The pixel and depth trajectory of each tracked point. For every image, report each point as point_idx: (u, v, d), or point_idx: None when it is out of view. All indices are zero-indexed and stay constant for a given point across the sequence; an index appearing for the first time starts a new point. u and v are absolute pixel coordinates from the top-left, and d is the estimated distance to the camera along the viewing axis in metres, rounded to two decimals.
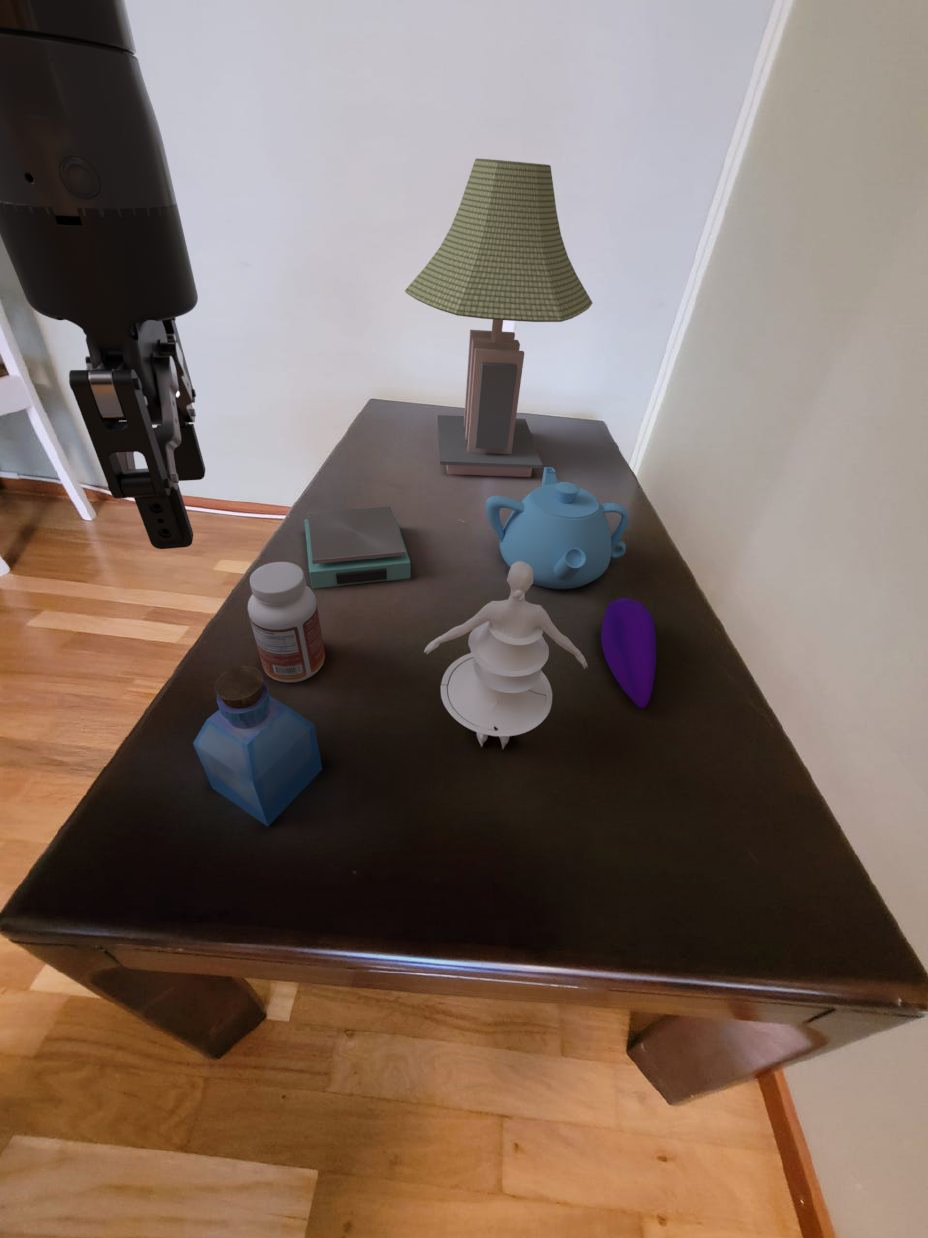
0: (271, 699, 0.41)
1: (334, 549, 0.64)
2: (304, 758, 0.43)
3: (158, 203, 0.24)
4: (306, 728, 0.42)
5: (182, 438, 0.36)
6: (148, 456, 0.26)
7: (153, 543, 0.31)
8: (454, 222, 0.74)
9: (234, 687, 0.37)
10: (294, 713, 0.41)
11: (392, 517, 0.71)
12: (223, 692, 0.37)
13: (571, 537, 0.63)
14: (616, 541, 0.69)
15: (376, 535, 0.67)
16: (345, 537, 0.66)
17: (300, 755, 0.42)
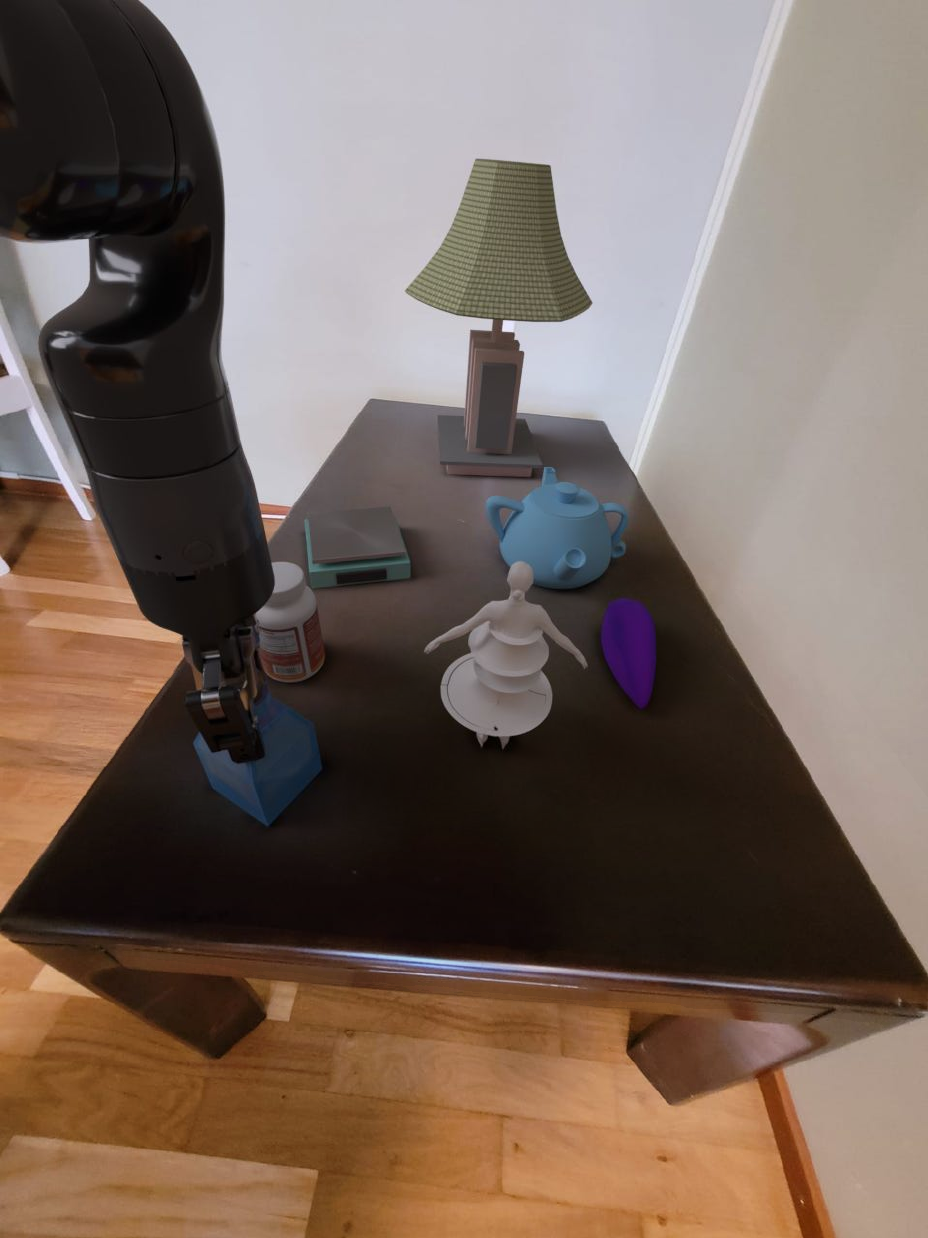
0: (271, 699, 0.41)
1: (334, 549, 0.64)
2: (304, 758, 0.43)
3: (253, 542, 0.29)
4: (306, 728, 0.42)
5: None
6: (243, 732, 0.32)
7: (233, 760, 0.37)
8: (454, 222, 0.74)
9: None
10: (294, 713, 0.41)
11: (392, 517, 0.71)
12: None
13: (571, 537, 0.63)
14: (616, 541, 0.69)
15: (376, 535, 0.67)
16: (345, 537, 0.66)
17: (300, 755, 0.42)
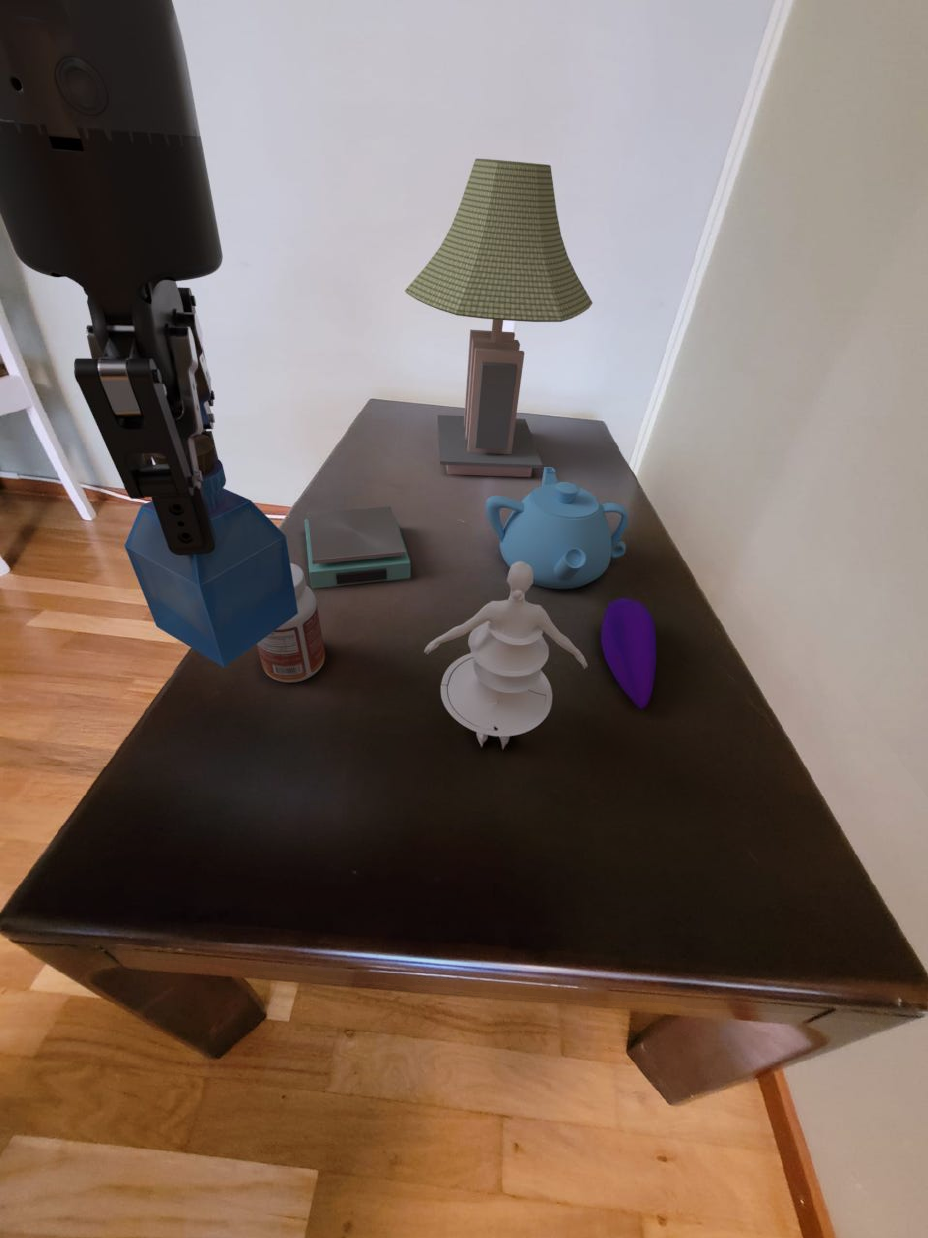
0: (229, 492, 0.31)
1: (334, 549, 0.64)
2: (273, 583, 0.33)
3: (179, 130, 0.19)
4: (275, 537, 0.32)
5: None
6: (170, 457, 0.22)
7: (171, 548, 0.28)
8: (454, 222, 0.74)
9: None
10: (259, 511, 0.31)
11: (392, 517, 0.71)
12: None
13: (571, 537, 0.63)
14: (616, 541, 0.69)
15: (376, 535, 0.67)
16: (345, 537, 0.66)
17: (267, 575, 0.33)
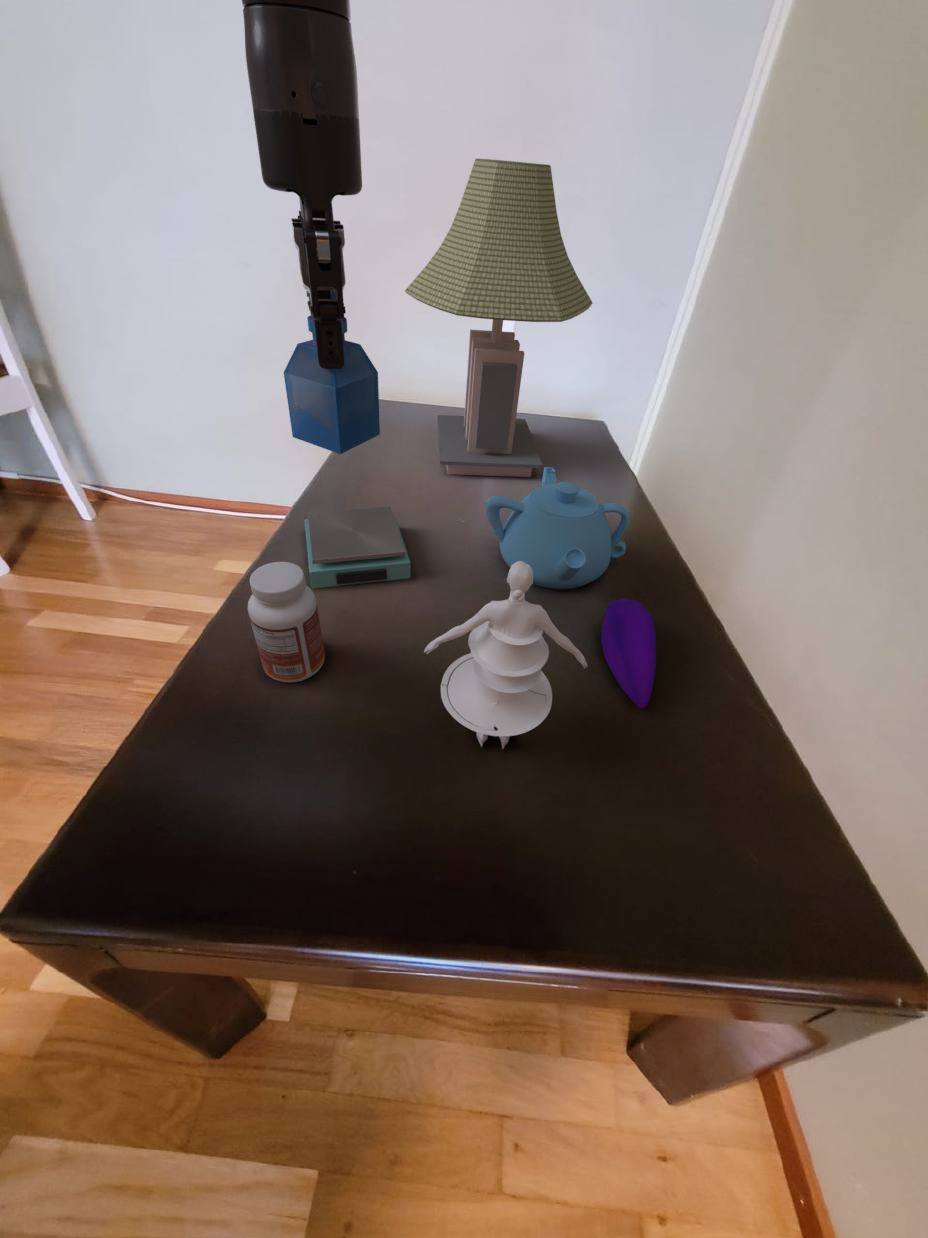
0: None
1: (334, 549, 0.64)
2: (369, 404, 0.53)
3: (354, 115, 0.39)
4: (372, 371, 0.52)
5: None
6: (339, 290, 0.42)
7: (320, 363, 0.47)
8: (454, 222, 0.74)
9: None
10: (364, 352, 0.51)
11: (392, 517, 0.71)
12: None
13: (571, 537, 0.63)
14: (616, 541, 0.69)
15: (376, 535, 0.67)
16: (345, 537, 0.66)
17: (367, 397, 0.52)
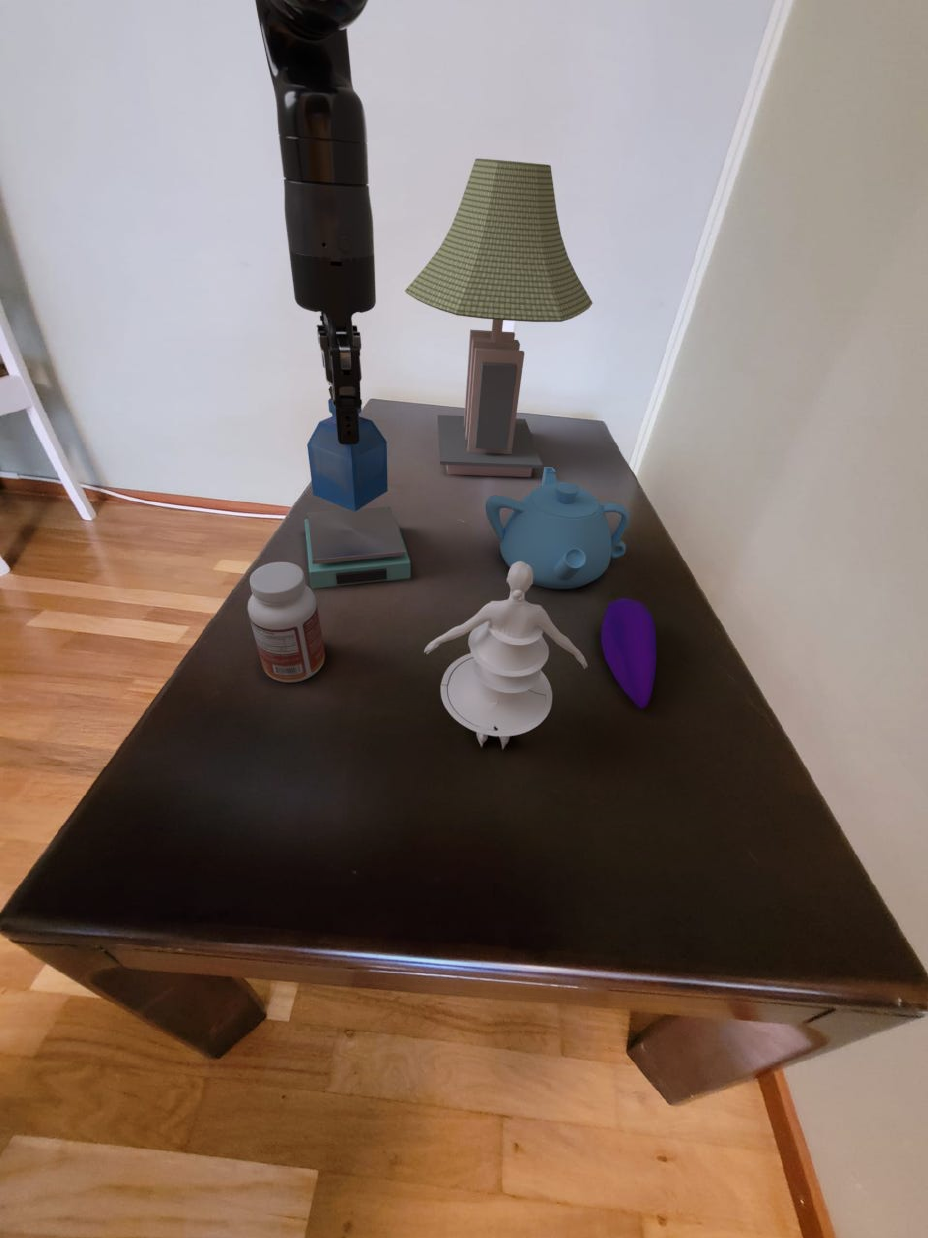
0: (359, 417, 0.60)
1: (334, 549, 0.64)
2: (379, 468, 0.62)
3: (371, 253, 0.48)
4: (382, 441, 0.61)
5: None
6: (357, 388, 0.51)
7: (339, 440, 0.56)
8: (454, 222, 0.74)
9: (341, 390, 0.56)
10: (375, 426, 0.60)
11: (392, 517, 0.71)
12: None
13: (571, 537, 0.63)
14: (616, 541, 0.69)
15: (376, 535, 0.67)
16: (345, 537, 0.66)
17: (377, 463, 0.61)
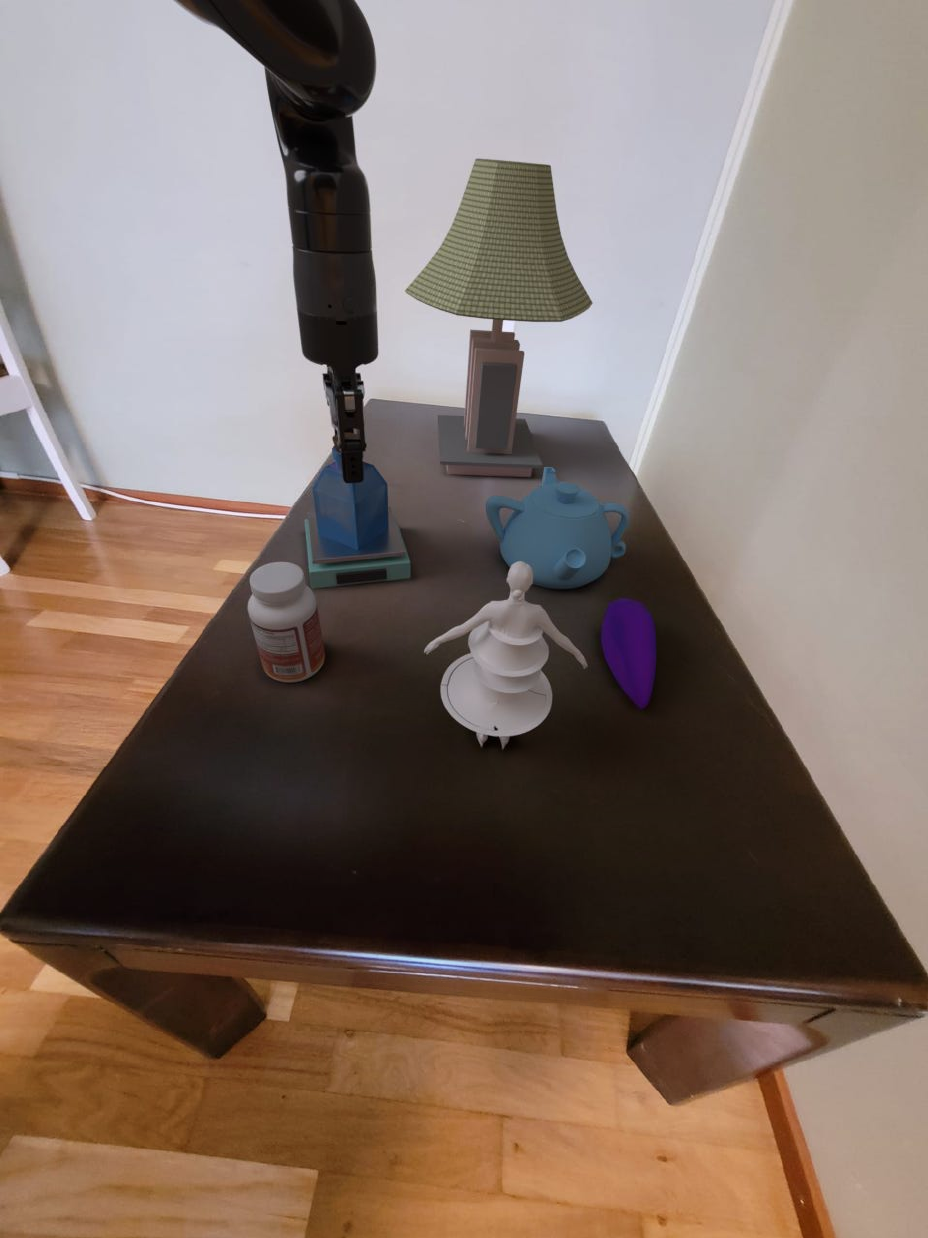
0: None
1: (334, 549, 0.64)
2: (380, 508, 0.65)
3: (374, 311, 0.51)
4: (383, 484, 0.64)
5: None
6: (361, 430, 0.53)
7: (344, 479, 0.58)
8: (454, 222, 0.74)
9: None
10: (376, 470, 0.63)
11: (392, 517, 0.71)
12: (338, 441, 0.59)
13: (571, 537, 0.63)
14: (616, 541, 0.69)
15: None
16: None
17: (378, 503, 0.65)
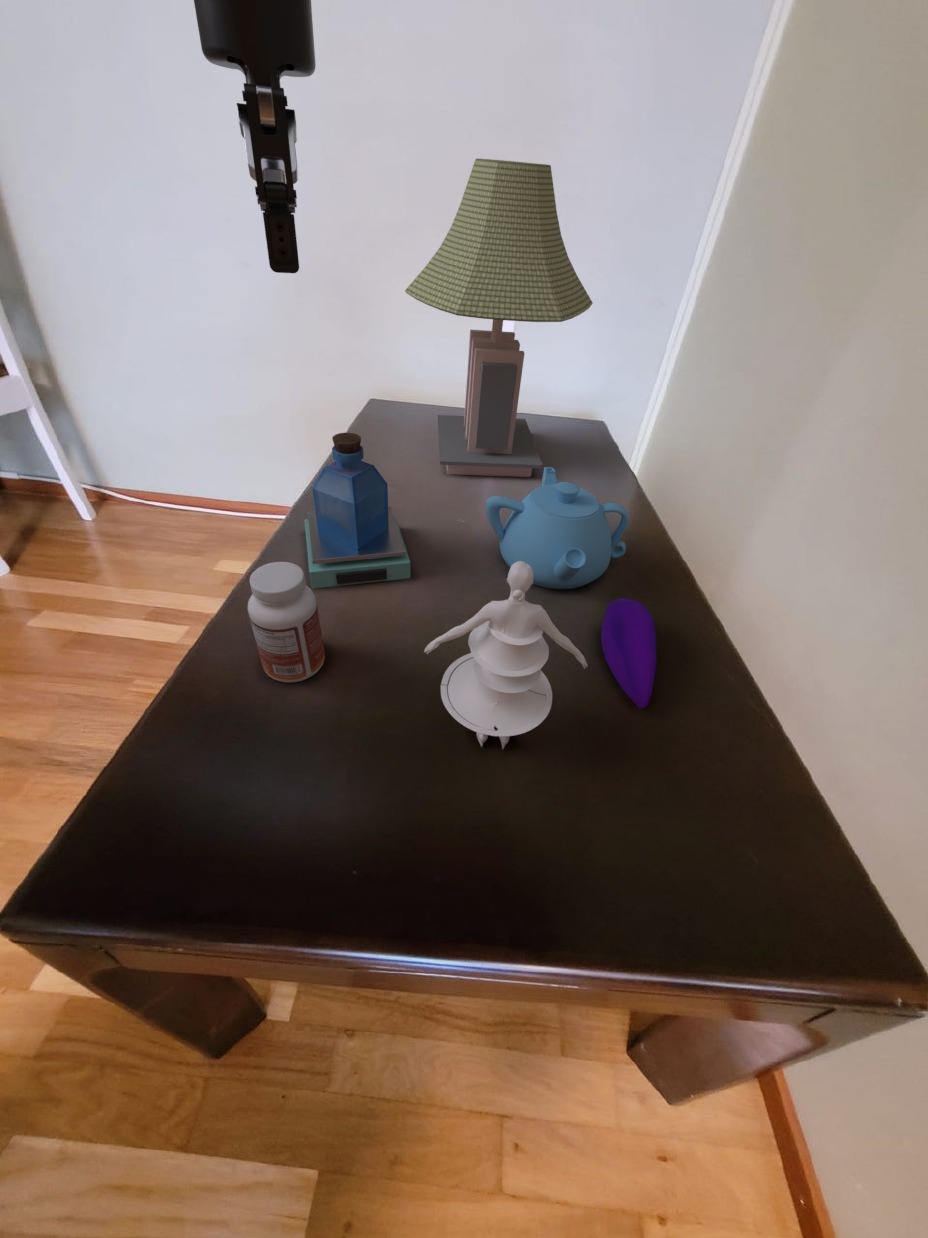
0: (361, 461, 0.63)
1: (334, 549, 0.64)
2: (380, 508, 0.65)
3: None
4: (383, 484, 0.64)
5: None
6: (287, 162, 0.36)
7: (271, 265, 0.42)
8: (454, 222, 0.74)
9: (344, 439, 0.60)
10: (376, 470, 0.63)
11: (392, 517, 0.71)
12: (338, 441, 0.59)
13: (571, 537, 0.63)
14: (616, 541, 0.69)
15: None
16: None
17: (378, 503, 0.65)
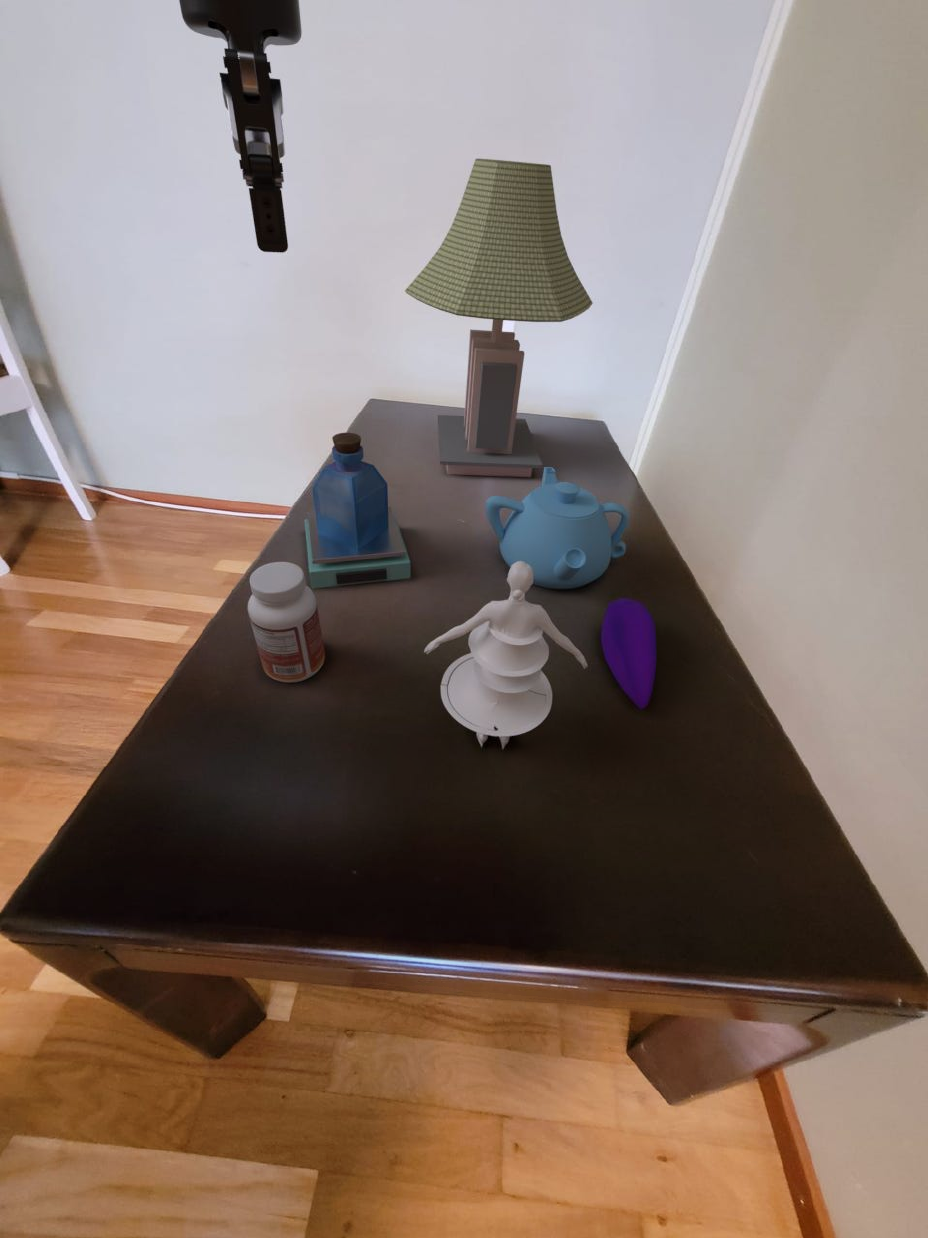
0: (361, 461, 0.63)
1: (334, 549, 0.64)
2: (380, 508, 0.65)
3: None
4: (383, 484, 0.64)
5: None
6: (271, 133, 0.35)
7: (259, 244, 0.40)
8: (454, 222, 0.74)
9: (344, 439, 0.60)
10: (376, 470, 0.63)
11: (392, 517, 0.71)
12: (338, 441, 0.59)
13: (571, 537, 0.63)
14: (616, 541, 0.69)
15: None
16: None
17: (378, 503, 0.65)
